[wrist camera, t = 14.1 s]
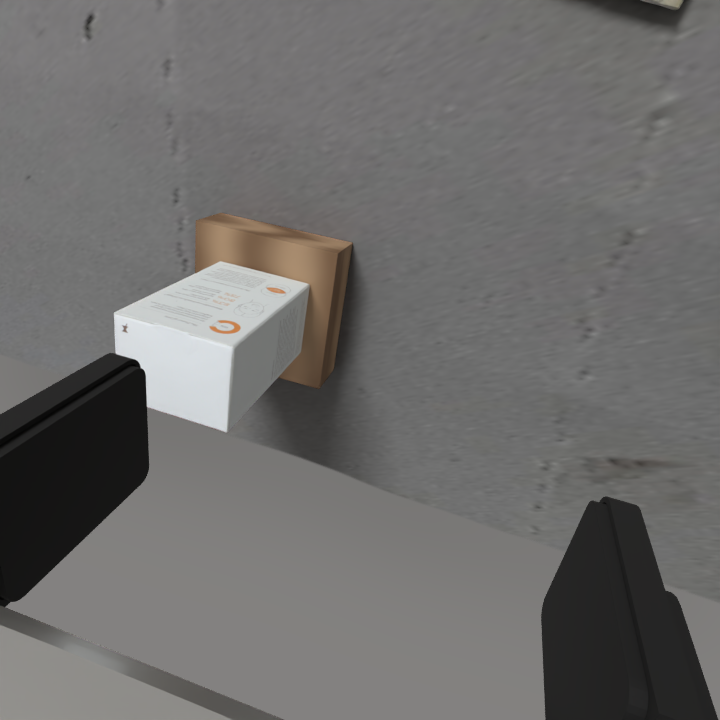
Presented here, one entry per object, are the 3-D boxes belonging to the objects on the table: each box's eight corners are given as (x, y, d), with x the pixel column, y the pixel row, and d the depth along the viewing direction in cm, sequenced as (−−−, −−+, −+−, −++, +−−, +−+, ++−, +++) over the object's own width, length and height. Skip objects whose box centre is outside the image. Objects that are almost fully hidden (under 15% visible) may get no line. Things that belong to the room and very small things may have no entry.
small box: (216, 329, 46) (114, 399, 34) (219, 259, 43) (109, 309, 31) (303, 354, 44) (227, 436, 33) (312, 283, 41) (233, 345, 30)
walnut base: (352, 242, 43) (337, 253, 40) (333, 369, 49) (319, 389, 45) (220, 212, 45) (195, 220, 42) (216, 337, 51) (194, 353, 47)
